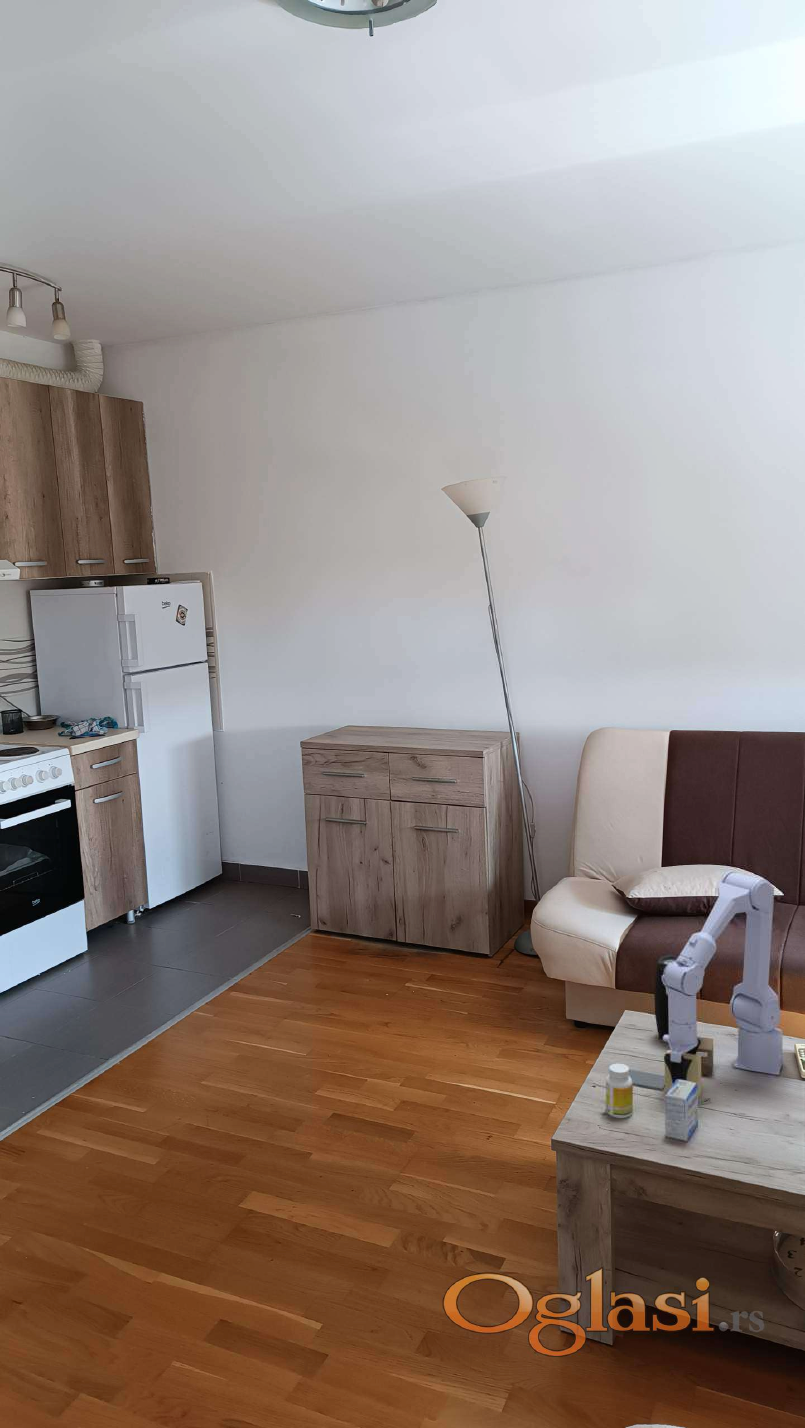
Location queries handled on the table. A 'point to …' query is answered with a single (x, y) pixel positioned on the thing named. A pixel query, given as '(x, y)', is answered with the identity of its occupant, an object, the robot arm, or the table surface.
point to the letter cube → (706, 1055)
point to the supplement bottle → (619, 1091)
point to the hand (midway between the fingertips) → (683, 1080)
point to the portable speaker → (662, 997)
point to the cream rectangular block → (692, 1074)
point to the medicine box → (681, 1109)
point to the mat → (647, 1080)
